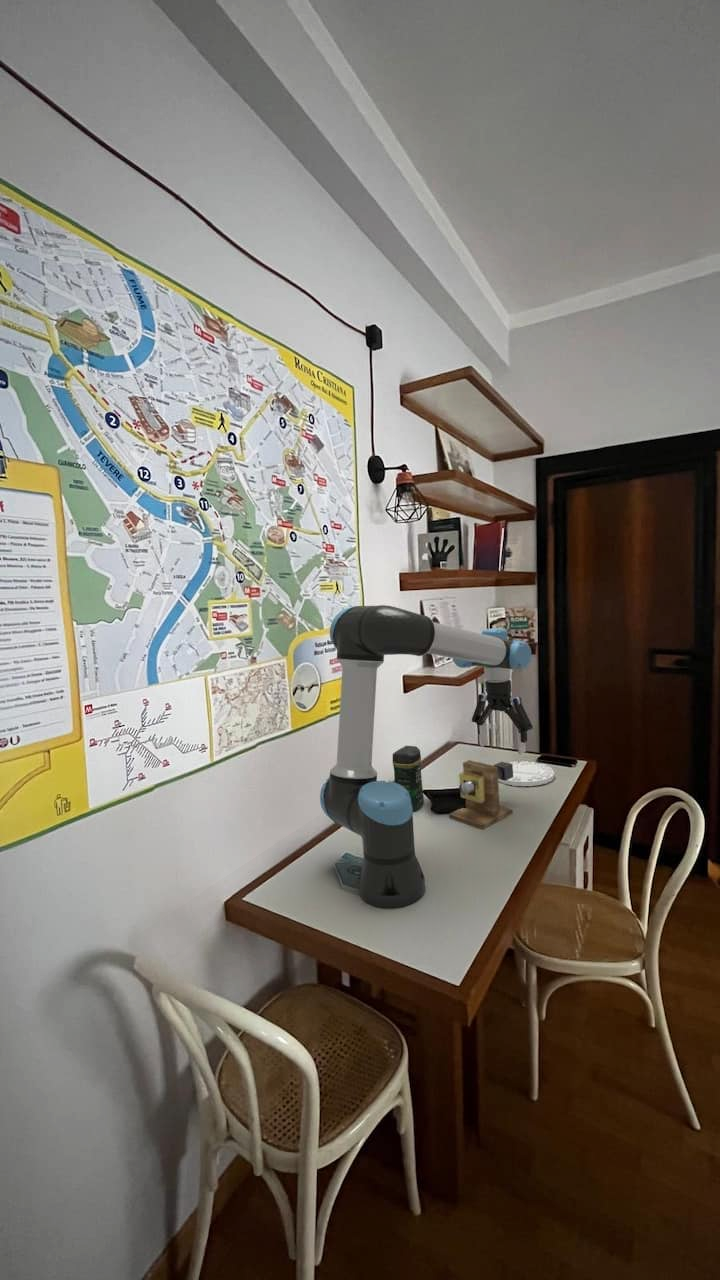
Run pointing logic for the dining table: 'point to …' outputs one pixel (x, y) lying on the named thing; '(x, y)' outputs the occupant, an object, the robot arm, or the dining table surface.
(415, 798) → the coffee jar
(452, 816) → the bracket
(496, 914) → the dining table surface
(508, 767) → the shaft
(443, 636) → the robot arm
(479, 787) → the spacer
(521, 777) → the giant coin
